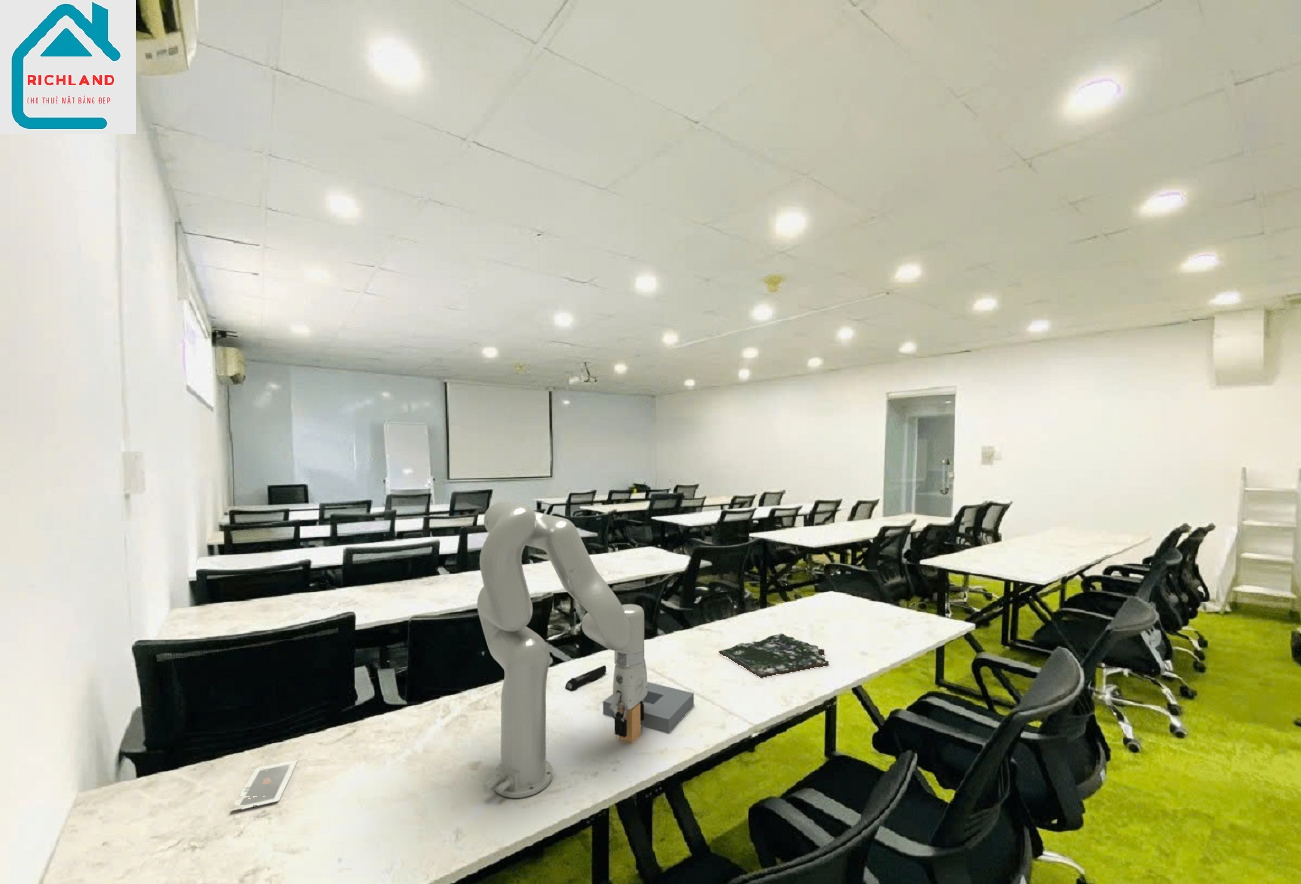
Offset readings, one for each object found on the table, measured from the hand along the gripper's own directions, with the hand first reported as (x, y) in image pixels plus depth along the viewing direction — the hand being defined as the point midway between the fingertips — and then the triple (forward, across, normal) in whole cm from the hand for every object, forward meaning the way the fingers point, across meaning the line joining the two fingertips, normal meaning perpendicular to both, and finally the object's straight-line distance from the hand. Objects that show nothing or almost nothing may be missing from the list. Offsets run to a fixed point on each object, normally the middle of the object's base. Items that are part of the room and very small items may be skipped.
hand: (629, 726), depth 123 cm
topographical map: (+3, +67, -21) cm, 70 cm away
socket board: (+3, +14, +2) cm, 14 cm away
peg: (+3, 0, 0) cm, 3 cm away
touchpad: (+3, -53, +59) cm, 79 cm away
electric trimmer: (+3, +20, +28) cm, 35 cm away
